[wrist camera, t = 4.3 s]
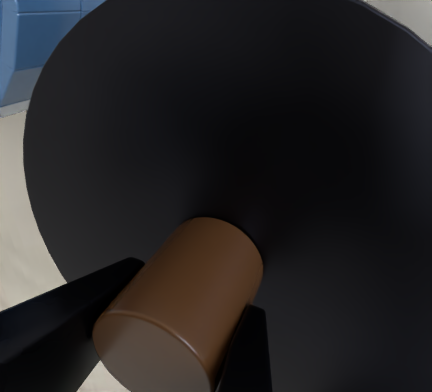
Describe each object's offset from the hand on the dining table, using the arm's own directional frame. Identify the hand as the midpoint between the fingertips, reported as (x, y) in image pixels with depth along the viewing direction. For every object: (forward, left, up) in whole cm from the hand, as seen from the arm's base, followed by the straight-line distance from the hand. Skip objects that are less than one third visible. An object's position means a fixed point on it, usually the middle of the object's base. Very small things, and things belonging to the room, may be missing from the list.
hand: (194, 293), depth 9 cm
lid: (0, 0, -2) cm, 2 cm away
